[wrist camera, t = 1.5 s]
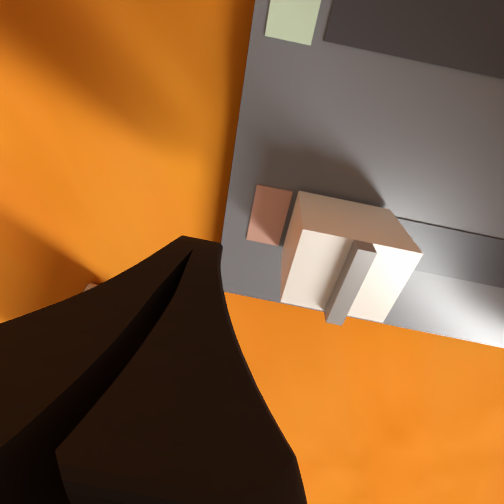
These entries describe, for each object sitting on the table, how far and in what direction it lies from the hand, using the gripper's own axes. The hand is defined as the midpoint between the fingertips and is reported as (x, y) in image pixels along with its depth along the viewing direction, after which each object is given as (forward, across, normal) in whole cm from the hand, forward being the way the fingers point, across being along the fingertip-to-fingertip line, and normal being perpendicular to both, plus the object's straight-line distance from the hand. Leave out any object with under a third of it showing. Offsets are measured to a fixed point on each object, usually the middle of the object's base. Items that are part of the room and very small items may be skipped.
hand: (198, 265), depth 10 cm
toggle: (+5, -5, 0) cm, 7 cm away
